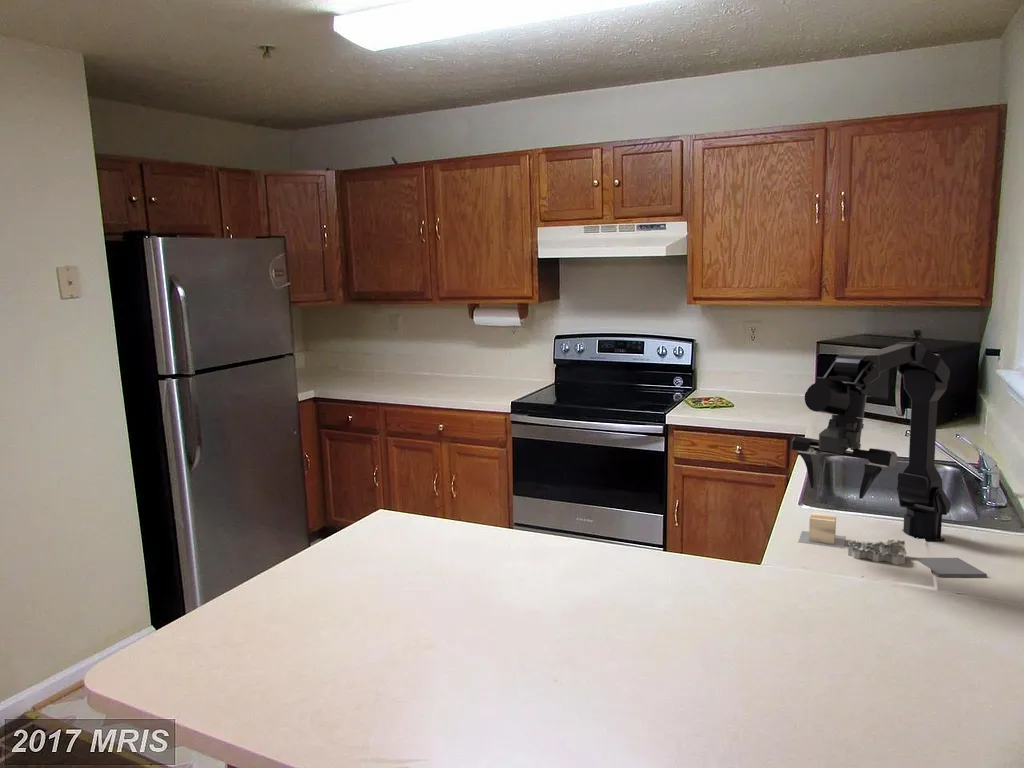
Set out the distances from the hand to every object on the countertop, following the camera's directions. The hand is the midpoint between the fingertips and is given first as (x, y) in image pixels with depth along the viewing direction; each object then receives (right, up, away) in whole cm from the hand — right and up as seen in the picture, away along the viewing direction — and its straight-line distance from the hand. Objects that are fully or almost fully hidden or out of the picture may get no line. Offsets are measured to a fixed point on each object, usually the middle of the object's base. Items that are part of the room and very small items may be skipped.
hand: (836, 493), depth 140 cm
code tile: (+3, -13, +14) cm, 19 cm away
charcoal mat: (+21, -14, -3) cm, 25 cm away
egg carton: (+9, -14, +3) cm, 17 cm away
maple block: (+3, -12, +14) cm, 19 cm away
